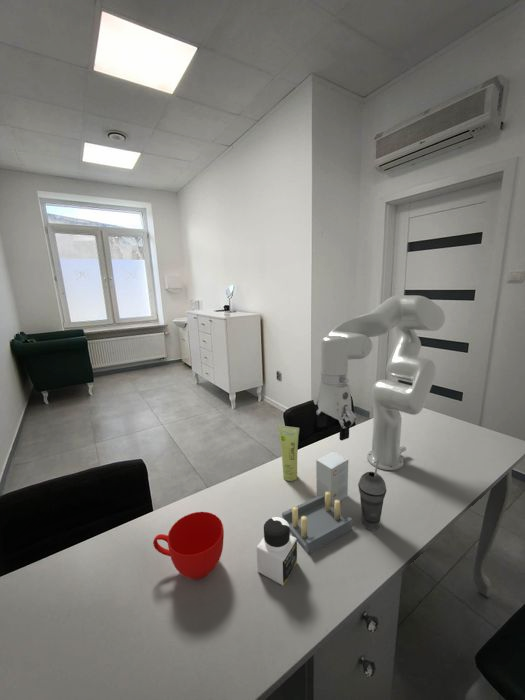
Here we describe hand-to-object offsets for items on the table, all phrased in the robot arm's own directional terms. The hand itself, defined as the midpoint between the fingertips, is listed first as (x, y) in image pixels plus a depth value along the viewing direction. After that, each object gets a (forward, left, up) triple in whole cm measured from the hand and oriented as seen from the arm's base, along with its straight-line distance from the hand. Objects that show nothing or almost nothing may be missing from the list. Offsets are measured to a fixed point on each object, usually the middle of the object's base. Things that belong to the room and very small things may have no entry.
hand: (332, 432), depth 91 cm
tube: (+6, -15, -22) cm, 27 cm away
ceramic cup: (+46, +1, -22) cm, 51 cm away
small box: (0, 0, -22) cm, 22 cm away
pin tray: (+12, +7, -22) cm, 26 cm away
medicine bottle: (+28, +12, -22) cm, 38 cm away
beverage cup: (-2, +14, -22) cm, 26 cm away
